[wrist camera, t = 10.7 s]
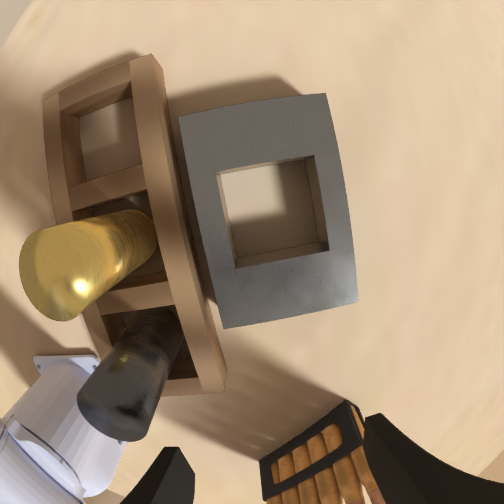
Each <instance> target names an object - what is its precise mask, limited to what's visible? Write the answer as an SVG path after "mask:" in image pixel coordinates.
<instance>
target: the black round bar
mask: <svg viewBox="0 0 504 504" xmlns="http://www.w3.org/2000/svg"><path fill="white" fill-rule="evenodd" d="M183 336H184V332H183V329H182V326H181V323H180V320H179V319H178V318H177V316H176V315H175V314H174V313H172V312H171V311H169V310H167V309H165V308H162V307H155V308H148V309H143V310H142V311H141V312H140V313H139V314H138V315H137V316H136V318H135V319H134V320H133V321H132V323H131V324H130V325H129V326H128V328H127V329H126V330H125V331H124V333H123V334H122V335H121V336H120V338H119V339H118V340H117V342H116V343H115V344H114V345H113V347H112V348H111V349H110V351H109V352H108V353H107V354H106V356H105V357H104V358H103V360H102V361H101V362H100V364H99V365H98V366H97V368H96V369H95V370H94V371H93V373H92V374H91V375H90V377H89V378H88V380H87V381H86V382H85V384H84V385H83V386H82V388H81V389H80V390H79V392H78V394H77V405H78V408H79V410H80V412H81V414H82V415H83V417H84V418H85V419H86V421H87V422H88V423H89V424H90V425H91V426H93V427H94V428H95V429H96V430H98V431H99V432H101V433H102V434H104V435H106V436H108V437H110V438H113V439H116V440H120V441H126V442H134V441H138V440H141V439H142V438H144V437H145V436H146V434H147V432H148V429H149V426H150V424H151V421H152V418H153V415H154V413H155V410H156V407H157V405H158V402H159V399H160V397H161V394H162V391H163V389H164V386H165V384H166V381H167V378H168V376H169V373H170V371H171V368H172V365H173V363H174V360H175V358H176V355H177V353H178V350H179V348H180V345H181V342H182V340H183Z"/></svg>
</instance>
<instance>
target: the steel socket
mask: <svg viewBox="0 0 504 504" xmlns="http://www.w3.org/2000/svg"><path fill="white" fill-rule="evenodd" d="M178 118H179V124H180V130H181V136H182V142H183V147H184V153H185V158H186V163H187V169H188V174H189V179H190V184H191V189H192V194H193V199H194V204H195V209H196V214H197V218H198V223H199V228H200V232H201V237H202V241H203V246H204V250H205V255H206V259H207V263H208V268H209V272H210V276H211V280H212V285H213V289H214V293H215V297H216V301H217V305H218V309H219V313H220V317H221V321H222V325H223V329H228V328H234V327H240V326H246V325H252V324H257V323H263V322H268V321H273V320H279V319H284V318H289V317H294V316H298V315H303V314H308V313H313V312H317V311H322V310H326V309H331V308H335V307H339V306H343V305H348V304H352V303H356V302H358V292H357V279H356V268H355V257H354V248H353V239H352V231H351V223H350V215H349V208H348V201H347V195H346V189H345V183H344V177H343V171H342V166H341V160H340V155H339V150H338V145H337V140H336V135H335V131H334V126H333V122H332V117H331V113H330V109H329V105H328V101H327V97H326V93H320V94H309V95H298V96H289V97H281V98H274V99H267V100H260V101H254V102H248V103H242V104H236V105H231V106H226V107H221V108H216V109H212V110H207V111H203V112H198V113H194V114H190V115H186V116H182V117H178ZM298 160H305V163H306V168H307V173H308V179H309V184H310V190H311V196H312V202H313V208H314V214H315V220H316V227H317V233H318V240H319V243H313V244H308V245H303V246H298V247H293V248H287V249H282V250H277V251H272V252H266V253H261V254H256V255H251V256H246V257H240V258H237V257H236V252H235V247H234V242H233V238H232V233H231V228H230V223H229V218H228V213H227V208H226V203H225V198H224V193H223V188H222V183H221V178H220V175H221V174H225V173H230V172H235V171H240V170H246V169H251V168H256V167H262V166H268V165H273V164H279V163H286V162H292V161H298Z"/></svg>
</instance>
